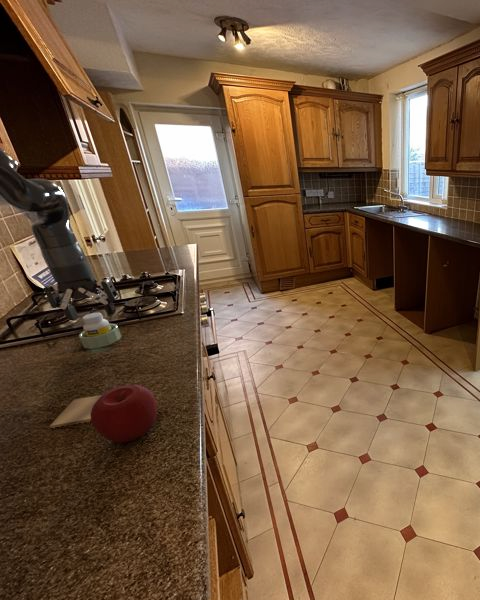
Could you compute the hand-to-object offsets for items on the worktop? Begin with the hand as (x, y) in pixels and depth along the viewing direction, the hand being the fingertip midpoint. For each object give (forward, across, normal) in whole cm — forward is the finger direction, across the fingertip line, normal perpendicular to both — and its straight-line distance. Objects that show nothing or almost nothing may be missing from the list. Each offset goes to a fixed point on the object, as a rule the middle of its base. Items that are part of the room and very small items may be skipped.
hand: (93, 317), depth 90 cm
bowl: (+9, 0, 0) cm, 9 cm away
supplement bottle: (+9, 0, 0) cm, 9 cm away
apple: (+10, -23, +40) cm, 47 cm away
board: (+9, -11, +30) cm, 33 cm away
